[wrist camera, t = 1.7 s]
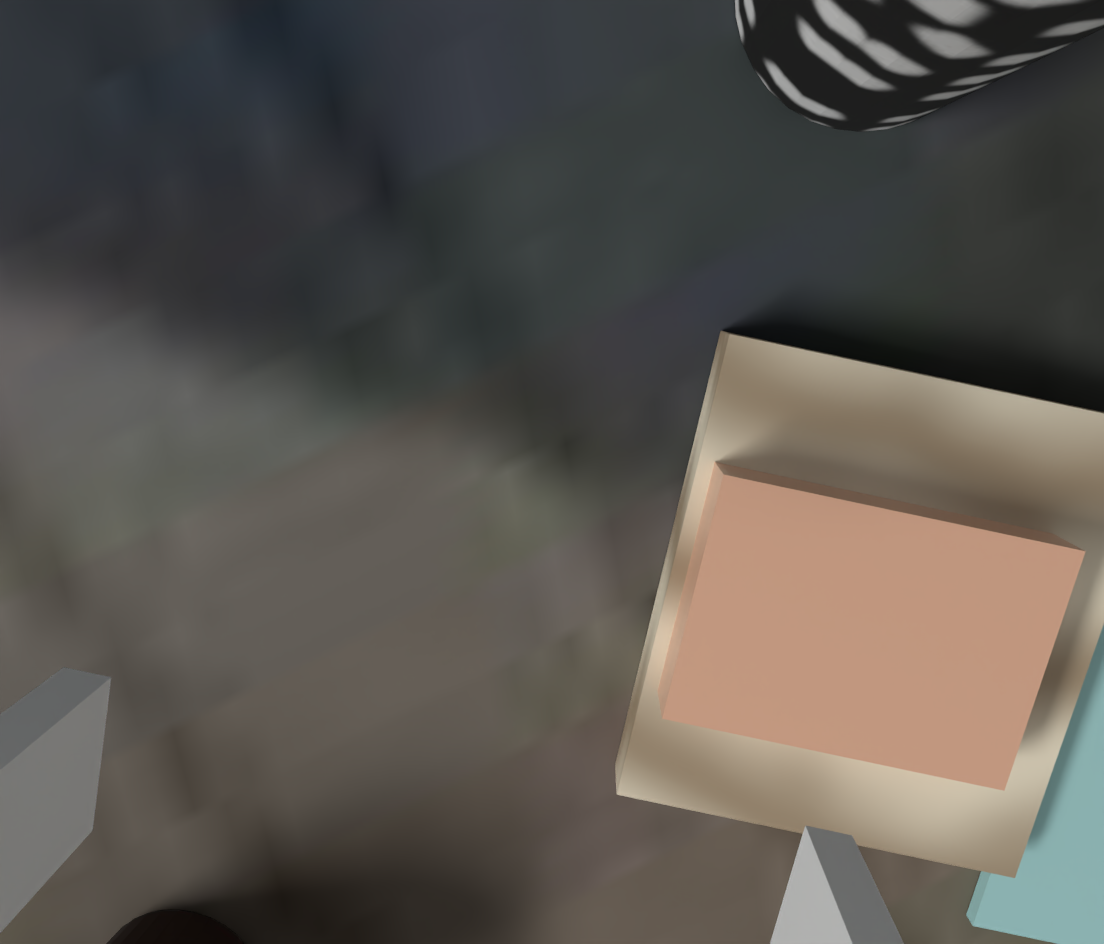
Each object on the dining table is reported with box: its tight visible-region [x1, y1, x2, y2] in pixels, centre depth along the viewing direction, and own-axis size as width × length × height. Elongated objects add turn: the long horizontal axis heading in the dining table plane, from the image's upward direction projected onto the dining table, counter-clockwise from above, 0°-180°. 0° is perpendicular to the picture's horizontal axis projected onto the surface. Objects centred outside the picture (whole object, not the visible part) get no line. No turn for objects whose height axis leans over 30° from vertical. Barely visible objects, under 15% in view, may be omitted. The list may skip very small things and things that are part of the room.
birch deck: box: [615, 331, 1104, 878], centre depth 32 cm, size 16×14×2 cm
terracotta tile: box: [657, 462, 1086, 791], centre depth 30 cm, size 8×11×2 cm
